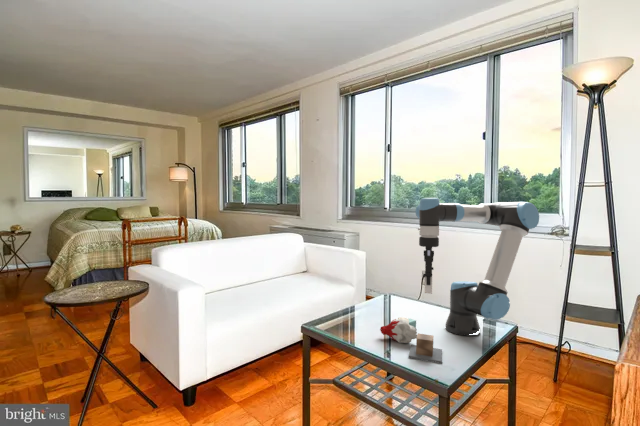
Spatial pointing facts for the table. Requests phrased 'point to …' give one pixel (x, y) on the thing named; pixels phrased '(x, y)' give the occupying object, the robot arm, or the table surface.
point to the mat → (436, 356)
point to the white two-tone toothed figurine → (400, 331)
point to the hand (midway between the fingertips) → (428, 289)
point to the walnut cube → (424, 345)
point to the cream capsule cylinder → (404, 319)
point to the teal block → (412, 322)
